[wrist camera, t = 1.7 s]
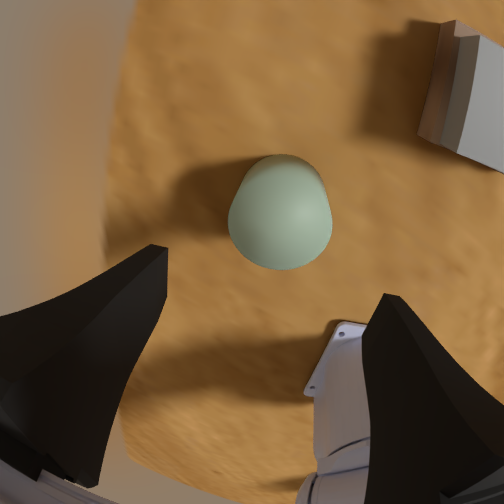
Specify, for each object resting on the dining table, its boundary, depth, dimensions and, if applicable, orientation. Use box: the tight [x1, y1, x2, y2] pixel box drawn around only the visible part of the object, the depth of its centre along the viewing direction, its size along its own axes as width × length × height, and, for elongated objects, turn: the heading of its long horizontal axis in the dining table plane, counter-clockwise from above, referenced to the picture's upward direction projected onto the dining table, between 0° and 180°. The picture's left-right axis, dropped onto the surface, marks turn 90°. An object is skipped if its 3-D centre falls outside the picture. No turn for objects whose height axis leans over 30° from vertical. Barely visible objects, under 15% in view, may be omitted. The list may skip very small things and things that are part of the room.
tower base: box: [417, 20, 504, 174], centre depth 13 cm, size 7×7×2 cm
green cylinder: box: [228, 154, 332, 270], centre depth 16 cm, size 5×5×4 cm
